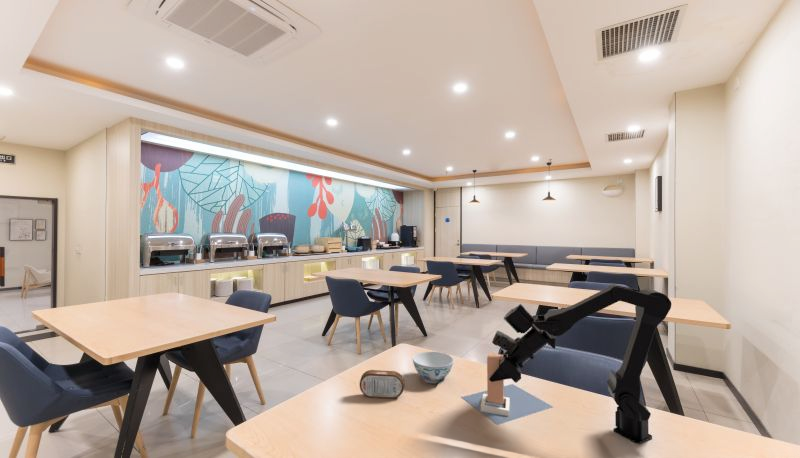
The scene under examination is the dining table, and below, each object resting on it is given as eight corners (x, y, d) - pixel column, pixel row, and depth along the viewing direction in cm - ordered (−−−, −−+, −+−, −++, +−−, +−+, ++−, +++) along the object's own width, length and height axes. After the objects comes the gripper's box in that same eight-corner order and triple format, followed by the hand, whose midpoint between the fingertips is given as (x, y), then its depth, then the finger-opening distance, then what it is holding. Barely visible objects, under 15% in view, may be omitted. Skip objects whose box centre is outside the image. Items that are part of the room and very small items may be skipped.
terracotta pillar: (503, 397, 102) (503, 354, 102) (503, 404, 97) (502, 360, 98) (488, 394, 103) (488, 353, 103) (487, 401, 99) (487, 358, 99)
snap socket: (509, 402, 103) (509, 397, 103) (509, 416, 95) (508, 410, 95) (483, 398, 105) (483, 393, 105) (480, 411, 98) (480, 405, 98)
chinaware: (405, 375, 126) (405, 355, 126) (439, 368, 132) (439, 349, 132) (425, 392, 112) (425, 369, 112) (461, 384, 118) (461, 362, 119)
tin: (404, 395, 110) (404, 370, 110) (404, 400, 107) (404, 374, 107) (360, 393, 111) (360, 368, 112) (358, 398, 108) (358, 372, 108)
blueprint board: (553, 410, 100) (553, 406, 100) (497, 429, 91) (497, 424, 91) (512, 387, 116) (512, 383, 116) (460, 400, 106) (460, 397, 106)
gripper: (509, 316, 108) (475, 346, 112) (507, 332, 91) (467, 367, 94) (535, 343, 105) (500, 373, 109) (539, 364, 88) (496, 399, 91)
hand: (490, 377), depth 101 cm, fingers closed on terracotta pillar, 4 cm apart
